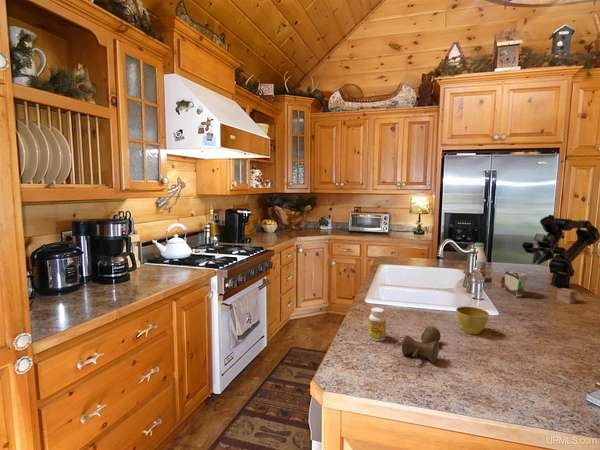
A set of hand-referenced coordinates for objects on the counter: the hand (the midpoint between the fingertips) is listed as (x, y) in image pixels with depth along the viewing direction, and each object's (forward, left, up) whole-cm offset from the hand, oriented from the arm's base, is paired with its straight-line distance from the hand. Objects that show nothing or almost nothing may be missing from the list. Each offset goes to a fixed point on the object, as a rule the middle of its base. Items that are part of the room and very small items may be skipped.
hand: (535, 263), depth 165 cm
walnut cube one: (+11, -9, -14) cm, 20 cm away
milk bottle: (+19, -17, -14) cm, 29 cm away
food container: (+10, +6, -14) cm, 18 cm away
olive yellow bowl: (+47, +51, -14) cm, 71 cm away
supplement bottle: (+80, +60, -14) cm, 101 cm away
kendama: (+67, +69, -14) cm, 97 cm away
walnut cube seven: (-7, +13, -14) cm, 20 cm away
